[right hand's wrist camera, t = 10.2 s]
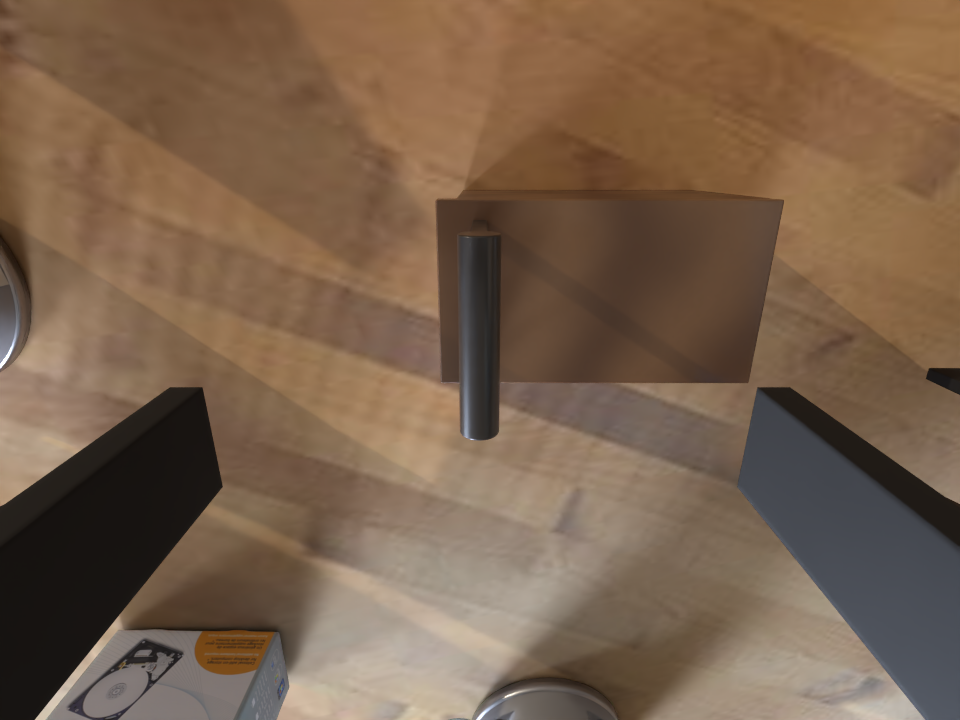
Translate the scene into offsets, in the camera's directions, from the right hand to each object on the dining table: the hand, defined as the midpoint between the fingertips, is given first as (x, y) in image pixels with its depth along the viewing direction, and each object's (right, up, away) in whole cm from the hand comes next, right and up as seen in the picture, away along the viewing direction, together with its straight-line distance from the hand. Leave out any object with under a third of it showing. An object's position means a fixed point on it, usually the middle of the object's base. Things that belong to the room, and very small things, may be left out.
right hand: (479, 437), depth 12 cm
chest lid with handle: (+6, +5, +14) cm, 16 cm away
